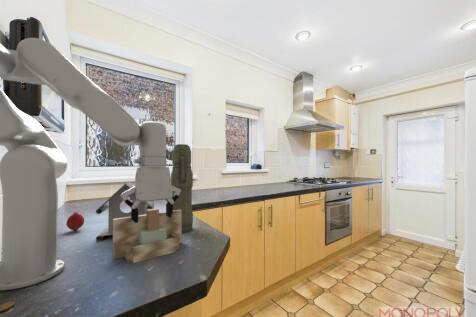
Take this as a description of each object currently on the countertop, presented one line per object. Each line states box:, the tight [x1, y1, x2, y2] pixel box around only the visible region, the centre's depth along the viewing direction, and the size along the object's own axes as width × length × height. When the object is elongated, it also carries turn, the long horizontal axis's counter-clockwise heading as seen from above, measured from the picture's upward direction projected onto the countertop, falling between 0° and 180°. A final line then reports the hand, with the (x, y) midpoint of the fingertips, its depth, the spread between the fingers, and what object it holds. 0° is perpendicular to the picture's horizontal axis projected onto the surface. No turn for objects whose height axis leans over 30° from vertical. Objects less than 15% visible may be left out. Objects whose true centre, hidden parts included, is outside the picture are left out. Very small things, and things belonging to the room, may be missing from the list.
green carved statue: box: [170, 143, 194, 233], centre depth 86 cm, size 9×12×35 cm
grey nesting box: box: [95, 181, 153, 242], centre depth 81 cm, size 18×10×20 cm, turn 109°
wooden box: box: [112, 210, 182, 264], centre depth 63 cm, size 20×8×11 cm, turn 127°
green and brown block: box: [138, 207, 166, 246], centre depth 63 cm, size 7×4×12 cm, turn 128°
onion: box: [66, 210, 85, 232], centre depth 85 cm, size 6×6×8 cm
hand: (152, 219), depth 63 cm, fingers open, 9 cm apart
